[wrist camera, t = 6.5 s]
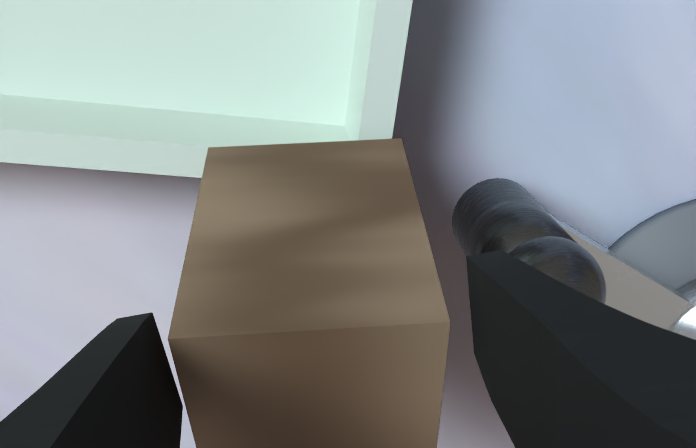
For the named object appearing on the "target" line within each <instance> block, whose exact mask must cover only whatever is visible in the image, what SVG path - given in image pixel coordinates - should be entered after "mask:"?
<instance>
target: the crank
mask: <svg viewBox="0 0 696 448" xmlns="http://www.w3.org/2000/svg"><path fill="white" fill-rule="evenodd" d="M452 227H453V232H454V234H455V237H456V238H457V240H458V242H459V244H460V245H461V247H462V249H463V250H464V252H465V254H466V256H471V255H477V254H482V253H488V252H493V251H499V250H501V251H503V252H506V253H508V254H510V255H512V256H514V257H515V258H517V259H519V260H521V261H523V262H525V263H526V264H528V265H530V266H532V267H534V268H535V269H537V270H539V271H541V272H543V273H545V274H546V275H548V276H550V277H552V278H554V279H556V280H557V281H559V282H561V283H563V284H565V285H567V286H569V287H571V288H573V289H575V290H577V291H579V292H581V293H583V294H584V295H587V296H589V297H591V298H593V299H595V300H597V301H599V302H601V303H603V304H605V305H608V306H610V307H612V308H614V309H617V310H619V311H621V312H623V313H626V314H628V315H630V316H632V317H635V318H637V319H640V320H642V321H645V322H647V323H650V324H652V325H655V326H657V327H660V328H663V329H666V330H669V331H672V332H674V333H677V334H680V335H683V336H686V337H689V338H691V339H694V340H696V279H694V280H692V281H690V282H688V283H686V284H684V285H682V286H681V287H679V288H678V289H676V290H675V289H674V288H672V287H670V286H669V285H667V284H665V283H664V282H662V281H660V280H659V279H657V278H655V277H654V276H652V275H650V274H649V273H647V272H645V271H644V270H642V269H640V268H639V267H637V266H635V265H634V264H632V263H630V262H629V261H627V260H625V259H624V258H622V257H620V256H619V255H617V254H615V253H614V252H612V251H610V250H609V249H607V248H605V247H604V246H602V245H600V244H599V243H597V242H595V241H594V240H592V239H590V238H589V237H587V236H585V235H584V234H582V233H580V232H579V231H577V230H575V229H574V228H572V227H570V226H569V225H567V224H565V223H564V222H562V221H560V220H559V219H557V218H555V217H554V216H552V215H550V214H549V213H548V212H547V211H546V210H545V209H544V208H543V207H542V206H541V205H540V204H539V203H538V202H537V201H536V200H535V199H534V198H533V197H532V196H531V195H530V194H529V193H528V192H527V191H526V190H525V189H524V188H523V187H522V186H521V185H519V184H518V183H516V182H514V181H511V180H508V179H500V178H496V179H489V180H485V181H482V182H480V183H477V184H476V185H474V186H472V187H471V188H470V189H468V190H467V191H466V192H465V193H464V194H463V195H462V196H461V198H460V199H459V201H458V202H457V204H456V206H455V209H454V212H453V216H452Z"/></svg>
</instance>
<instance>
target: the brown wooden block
mask: <svg viewBox="0 0 696 448" xmlns="http://www.w3.org/2000/svg"><path fill="white" fill-rule="evenodd" d="M449 331H450V318H449V314H448V311H447V307H446V303H445V299H444V296H443V292H442V288H441V285H440V281H439V277H438V273H437V270H436V266H435V262H434V258H433V255H432V251H431V247H430V243H429V240H428V236H427V232H426V228H425V225H424V221H423V217H422V213H421V210H420V206H419V202H418V198H417V195H416V191H415V187H414V183H413V180H412V176H411V172H410V168H409V165H408V161H407V157H406V153H405V150H404V146H403V142H402V138H397V139H376V140H355V141H334V142H313V143H292V144H271V145H250V146H229V147H208V151H207V156H206V160H205V165H204V170H203V175H202V179H201V184H200V189H199V194H198V198H197V203H196V208H195V212H194V217H193V222H192V227H191V231H190V236H189V241H188V246H187V250H186V255H185V260H184V265H183V269H182V274H181V279H180V284H179V288H178V293H177V298H176V302H175V307H174V312H173V317H172V321H171V326H170V331H169V336H168V342H169V345H170V349H171V353H172V357H173V360H174V364H175V368H176V372H177V376H178V379H179V383H180V387H181V391H182V395H183V398H184V402H185V406H186V410H187V414H188V417H189V421H190V425H191V429H192V432H193V436H194V440H195V444H196V448H437V441H438V432H439V423H440V414H441V404H442V395H443V386H444V377H445V368H446V359H447V350H448V340H449Z"/></svg>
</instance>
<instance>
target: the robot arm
mask: <svg viewBox="0 0 696 448" xmlns="http://www.w3.org/2000/svg"><path fill="white" fill-rule="evenodd" d="M466 260H467V272H468V284H469V296H470V308H471V320H472V332H473V344H474V354H475V356H476V359H477V362H478V365H479V368H480V371H481V374H482V376H483V379H484V382H485V385H486V387H487V390H488V393H489V395H490V398H491V401H492V403H493V405H494V407H495V409H496V411H497V413H498V415H499V417H500V419H501V421H502V422H503V424H504V426H505V428H506V430H507V432H508V434H509V436H510V438H511V440H512V442H513V444H514V446H515V448H696V340H694V339H691V338H689V337H686V336H683V335H680V334H677V333H674V332H672V331H669V330H666V329H663V328H660V327H657V326H655V325H652V324H650V323H647V322H645V321H642V320H640V319H637V318H635V317H632V316H630V315H628V314H626V313H623V312H621V311H619V310H617V309H614V308H612V307H610V306H608V305H605V304H603V303H601V302H599V301H597V300H595V299H593V298H591V297H589V296H587V295H584V294H583V293H581V292H579V291H577V290H575V289H573V288H571V287H569V286H567V285H565V284H563V283H561V282H559V281H557V280H556V279H554V278H552V277H550V276H548V275H546V274H545V273H543V272H541V271H539V270H537V269H535V268H534V267H532V266H530V265H528V264H526V263H525V262H523V261H521V260H519V259H517V258H515V257H514V256H512V255H510V254H508V253H506V252H503V251H501V250H499V251H493V252H488V253H482V254H477V255H471V256H466ZM182 409H183V405H182V402H181V399H180V396H179V393H178V390H177V387H176V384H175V381H174V378H173V375H172V371H171V368H170V365H169V362H168V359H167V356H166V353H165V350H164V347H163V344H162V341H161V338H160V334H159V331H158V328H157V325H156V322H155V319H154V316H153V313H146V314H141V315H135V316H130V317H124V318H118V319H116V320H115V321H114V322H112V323H111V324H110V325H108V326H107V327H106V328H105V329H104V330H103V331H101V332H100V333H99V334H98V335H97V336H96V337H95V338H94V339H93V340H91V341H90V342H89V343H88V344H87V345H86V346H85V347H84V348H83V349H82V350H81V351H80V352H79V353H77V354H76V355H75V356H74V357H73V358H72V359H71V360H70V361H69V362H68V363H67V364H66V365H65V366H63V367H62V368H61V369H60V370H59V371H58V372H57V373H56V374H55V375H54V376H53V377H52V378H50V379H49V380H48V381H47V382H46V383H45V384H44V385H43V386H42V387H41V388H40V389H38V390H37V391H36V392H35V393H34V394H33V395H31V396H30V397H29V398H28V399H27V400H25V401H24V402H23V403H22V404H21V405H20V406H18V407H17V408H16V409H15V410H14V411H13V412H11V413H10V414H9V415H8V416H7V417H6V418H4V419H3V420H2V421H1V422H0V448H180V438H181V424H182Z"/></svg>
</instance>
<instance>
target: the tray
mask: <svg viewBox="0 0 696 448" xmlns="http://www.w3.org/2000/svg"><path fill="white" fill-rule="evenodd" d="M412 2H413V0H0V162H6V163H19V164H31V165H44V166H57V167H69V168H82V169H95V170H107V171H120V172H133V173H145V174H158V175H171V176H183V177H196V178H202V175H203V170H204V165H205V160H206V156H207V151H208V147H229V146H250V145H271V144H292V143H313V142H334V141H355V140H376V139H392V135H393V128H394V122H395V115H396V108H397V102H398V95H399V88H400V82H401V75H402V68H403V62H404V55H405V48H406V42H407V35H408V28H409V22H410V15H411V8H412Z"/></svg>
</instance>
